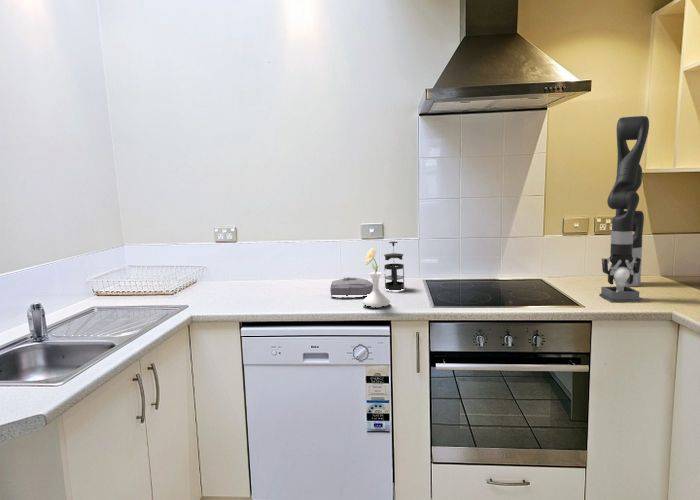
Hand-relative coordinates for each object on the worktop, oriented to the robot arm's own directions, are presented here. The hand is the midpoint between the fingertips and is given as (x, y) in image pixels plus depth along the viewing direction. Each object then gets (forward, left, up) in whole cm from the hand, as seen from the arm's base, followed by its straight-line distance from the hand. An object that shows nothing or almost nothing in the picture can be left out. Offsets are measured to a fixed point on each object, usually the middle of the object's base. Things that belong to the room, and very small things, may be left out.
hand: (620, 283), depth 187 cm
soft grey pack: (-14, -109, -7) cm, 110 cm away
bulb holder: (0, 0, -6) cm, 6 cm away
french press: (-23, -90, -6) cm, 93 cm away
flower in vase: (+7, -97, -6) cm, 97 cm away
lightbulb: (0, 0, -4) cm, 4 cm away
